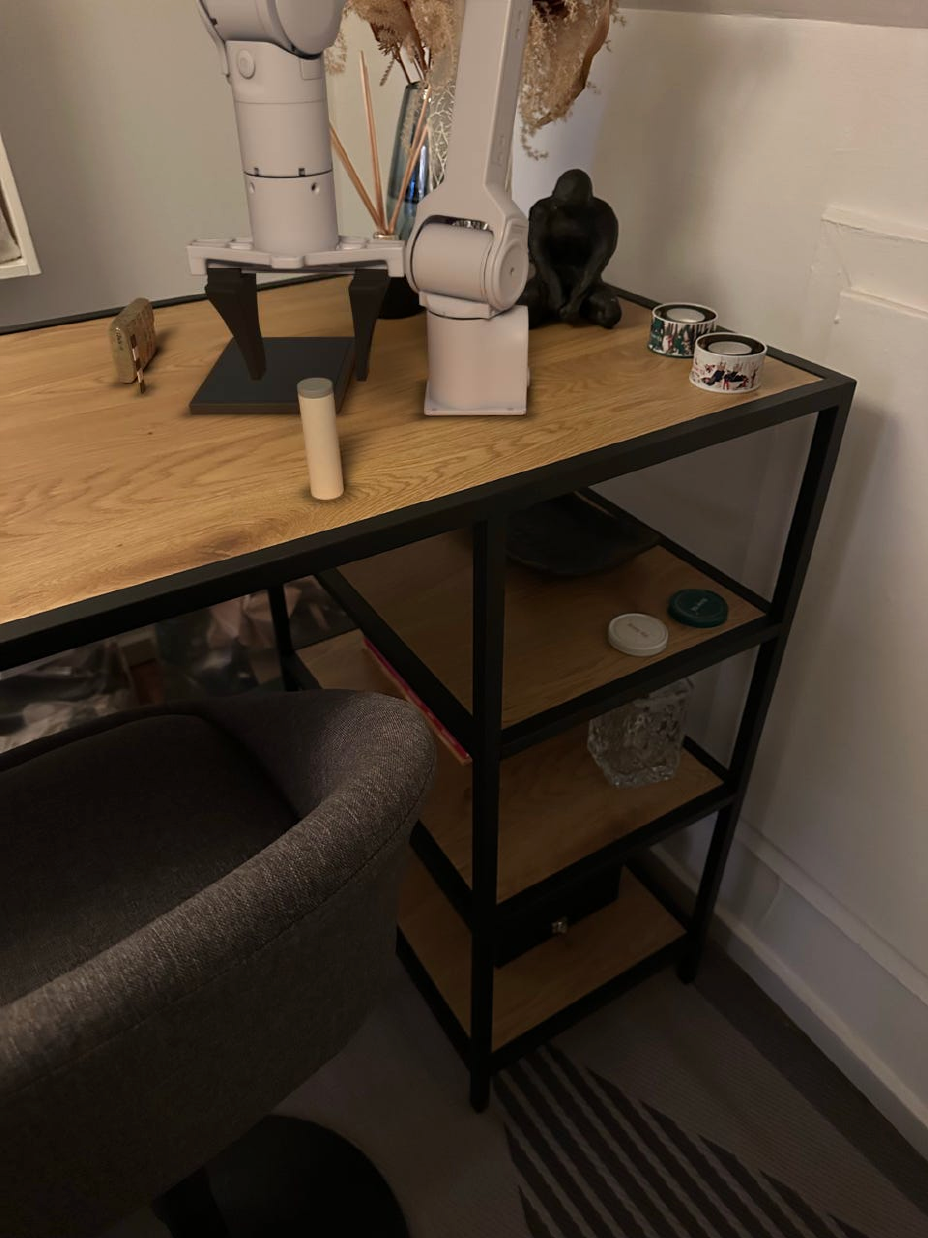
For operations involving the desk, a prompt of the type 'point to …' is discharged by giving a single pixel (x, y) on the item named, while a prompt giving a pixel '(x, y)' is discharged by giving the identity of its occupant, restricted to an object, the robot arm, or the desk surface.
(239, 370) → the plate
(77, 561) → the desk surface
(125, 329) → the cuneiform tablet
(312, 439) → the stylus
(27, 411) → the desk surface
